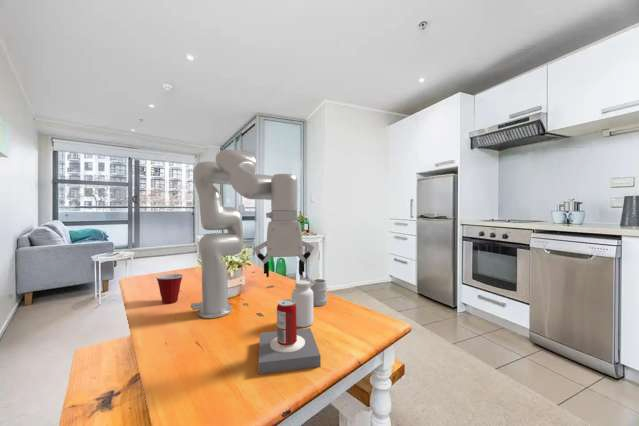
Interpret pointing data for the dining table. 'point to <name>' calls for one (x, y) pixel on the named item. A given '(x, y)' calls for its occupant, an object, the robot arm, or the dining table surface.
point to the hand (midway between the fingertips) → (284, 275)
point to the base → (288, 352)
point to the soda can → (286, 322)
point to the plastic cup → (169, 287)
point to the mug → (319, 292)
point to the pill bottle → (303, 303)
